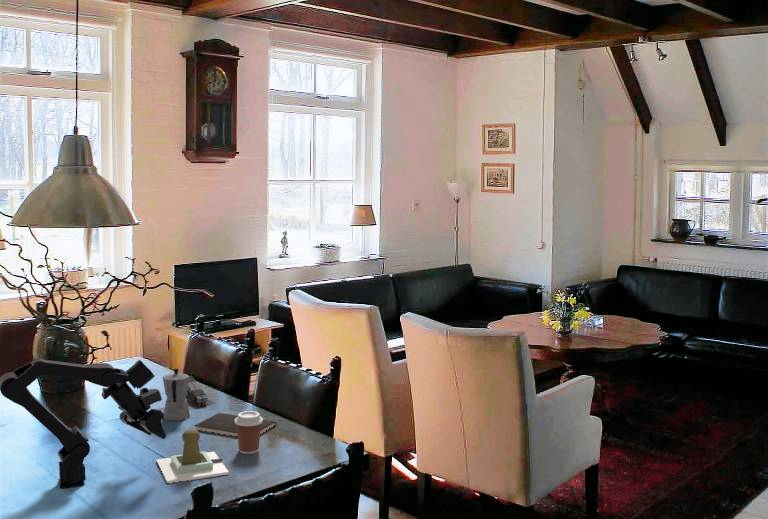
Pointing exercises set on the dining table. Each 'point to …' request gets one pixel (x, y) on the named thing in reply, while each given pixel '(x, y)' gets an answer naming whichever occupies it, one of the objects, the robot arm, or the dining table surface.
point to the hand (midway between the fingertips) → (157, 435)
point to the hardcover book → (227, 424)
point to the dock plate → (192, 468)
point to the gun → (196, 392)
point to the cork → (191, 447)
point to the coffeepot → (176, 396)
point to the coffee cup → (248, 431)
